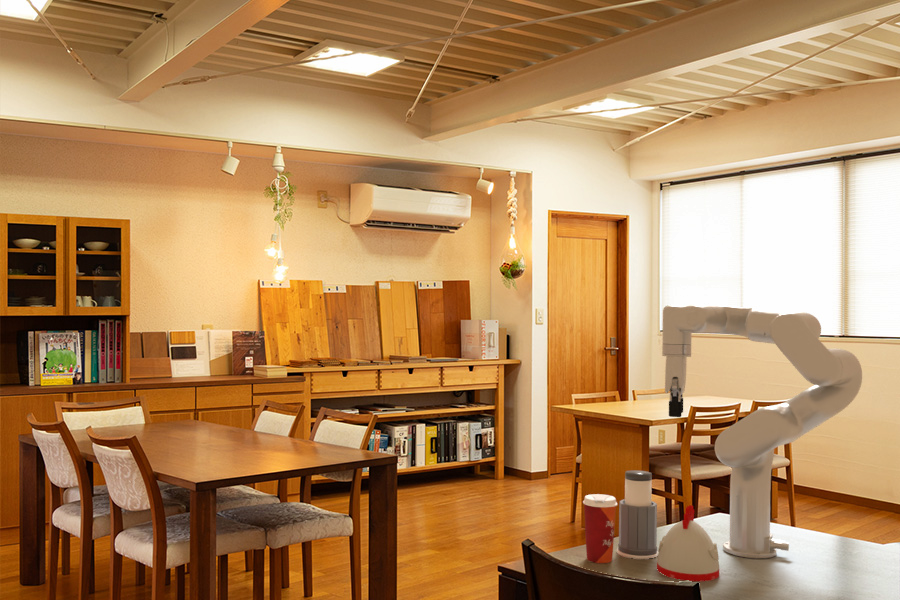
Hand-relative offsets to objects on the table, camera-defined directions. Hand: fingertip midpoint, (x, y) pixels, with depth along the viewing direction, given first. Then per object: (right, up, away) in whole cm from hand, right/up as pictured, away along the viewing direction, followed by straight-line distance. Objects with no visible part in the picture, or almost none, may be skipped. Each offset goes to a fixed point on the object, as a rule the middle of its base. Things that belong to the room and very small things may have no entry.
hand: (676, 414), depth 224 cm
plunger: (-14, -29, -18) cm, 37 cm away
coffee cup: (-25, -32, -23) cm, 47 cm away
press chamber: (-14, -32, -18) cm, 39 cm away
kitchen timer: (-6, -32, -31) cm, 45 cm away
